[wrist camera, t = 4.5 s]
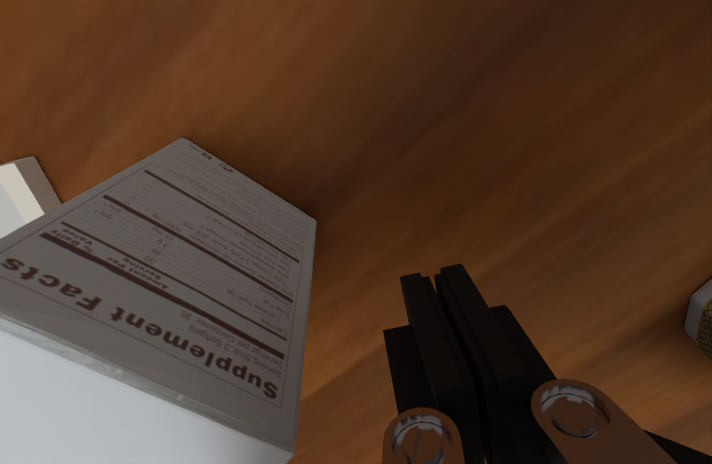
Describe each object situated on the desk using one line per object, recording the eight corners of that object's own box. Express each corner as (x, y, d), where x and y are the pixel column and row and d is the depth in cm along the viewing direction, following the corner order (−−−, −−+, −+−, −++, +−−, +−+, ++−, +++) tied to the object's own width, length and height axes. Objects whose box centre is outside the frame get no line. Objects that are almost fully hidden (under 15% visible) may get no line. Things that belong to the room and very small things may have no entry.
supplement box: (246, 319, 22) (148, 621, 10) (115, 250, 20) (-193, 533, 8) (323, 219, 19) (305, 462, 8) (184, 128, 17) (-113, 283, 6)
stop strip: (34, 155, 17) (14, 162, 16) (142, 345, 22) (132, 360, 21) (12, 160, 17) (-9, 168, 16) (125, 348, 22) (114, 364, 21)
